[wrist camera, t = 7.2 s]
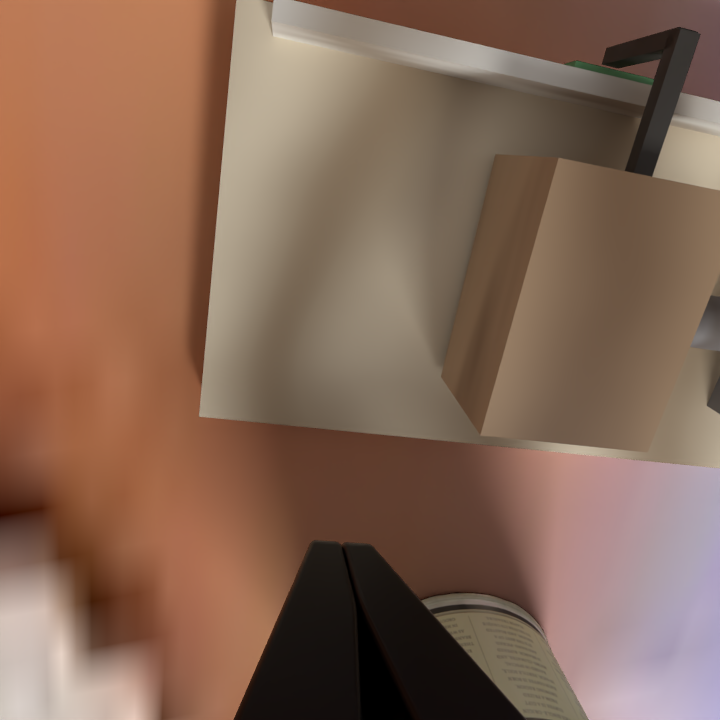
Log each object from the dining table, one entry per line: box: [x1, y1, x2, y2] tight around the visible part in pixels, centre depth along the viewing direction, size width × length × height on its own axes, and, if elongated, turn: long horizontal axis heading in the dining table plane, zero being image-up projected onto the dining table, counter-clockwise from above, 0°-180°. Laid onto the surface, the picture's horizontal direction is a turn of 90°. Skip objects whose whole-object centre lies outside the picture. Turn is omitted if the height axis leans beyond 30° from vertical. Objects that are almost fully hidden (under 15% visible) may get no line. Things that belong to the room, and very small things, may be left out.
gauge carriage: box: [441, 27, 720, 453], centre depth 16 cm, size 8×10×4 cm
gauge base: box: [199, 0, 720, 468], centre depth 17 cm, size 22×12×5 cm, turn 79°
